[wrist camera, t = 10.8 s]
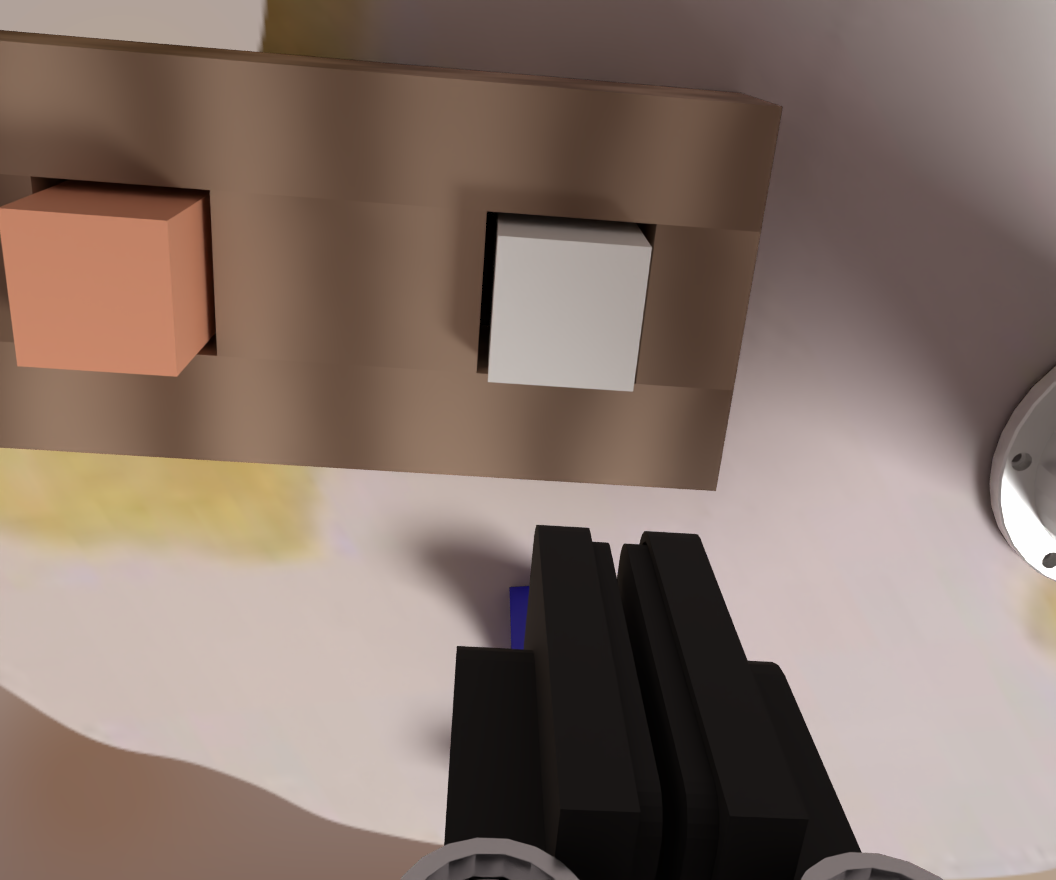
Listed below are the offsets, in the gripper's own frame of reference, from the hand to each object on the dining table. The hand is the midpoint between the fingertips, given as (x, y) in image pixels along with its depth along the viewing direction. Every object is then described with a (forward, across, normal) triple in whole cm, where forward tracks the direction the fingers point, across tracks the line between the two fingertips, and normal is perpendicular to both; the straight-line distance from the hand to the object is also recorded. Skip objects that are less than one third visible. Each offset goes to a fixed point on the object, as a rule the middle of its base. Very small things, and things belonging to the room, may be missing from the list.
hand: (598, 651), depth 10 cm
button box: (+31, +6, +3) cm, 32 cm away
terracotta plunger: (+29, +13, +3) cm, 32 cm away
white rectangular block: (+31, -2, +3) cm, 31 cm away
